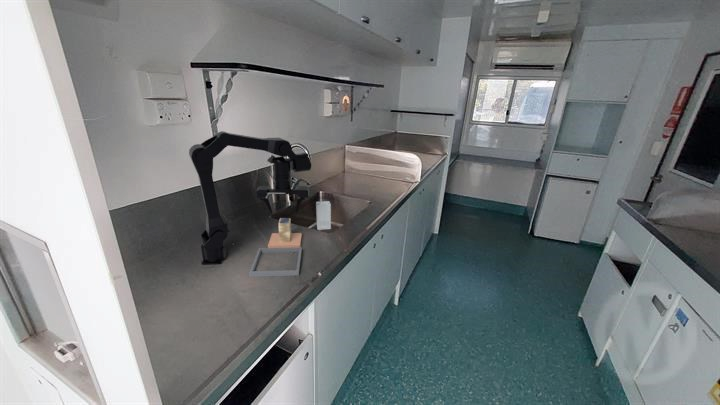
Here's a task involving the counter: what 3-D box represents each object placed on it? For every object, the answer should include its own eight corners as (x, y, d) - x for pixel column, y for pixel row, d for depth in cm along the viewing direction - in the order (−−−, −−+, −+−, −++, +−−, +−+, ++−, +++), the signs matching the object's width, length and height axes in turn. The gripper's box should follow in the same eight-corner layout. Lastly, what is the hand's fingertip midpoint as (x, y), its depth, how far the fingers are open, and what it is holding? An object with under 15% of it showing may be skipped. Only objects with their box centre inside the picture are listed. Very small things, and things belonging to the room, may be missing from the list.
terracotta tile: (268, 248, 110) (267, 245, 109) (272, 235, 119) (272, 233, 118) (300, 247, 111) (300, 245, 111) (301, 235, 120) (301, 232, 120)
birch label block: (279, 242, 112) (278, 223, 109) (281, 236, 116) (280, 217, 113) (289, 242, 112) (289, 223, 109) (291, 235, 117) (290, 217, 114)
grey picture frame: (249, 276, 93) (248, 272, 92) (259, 251, 107) (258, 248, 107) (298, 275, 95) (298, 271, 94) (301, 250, 109) (301, 247, 109)
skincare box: (329, 225, 131) (330, 200, 126) (331, 229, 127) (331, 204, 122) (316, 226, 129) (315, 200, 125) (317, 230, 125) (316, 204, 121)
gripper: (309, 168, 113) (310, 204, 119) (260, 167, 111) (263, 205, 117) (308, 176, 103) (308, 216, 109) (253, 175, 101) (257, 216, 106)
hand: (284, 212), depth 110 cm, fingers open, 9 cm apart
